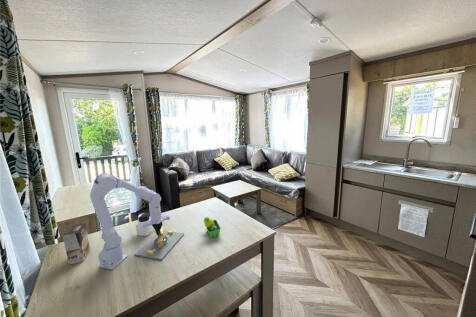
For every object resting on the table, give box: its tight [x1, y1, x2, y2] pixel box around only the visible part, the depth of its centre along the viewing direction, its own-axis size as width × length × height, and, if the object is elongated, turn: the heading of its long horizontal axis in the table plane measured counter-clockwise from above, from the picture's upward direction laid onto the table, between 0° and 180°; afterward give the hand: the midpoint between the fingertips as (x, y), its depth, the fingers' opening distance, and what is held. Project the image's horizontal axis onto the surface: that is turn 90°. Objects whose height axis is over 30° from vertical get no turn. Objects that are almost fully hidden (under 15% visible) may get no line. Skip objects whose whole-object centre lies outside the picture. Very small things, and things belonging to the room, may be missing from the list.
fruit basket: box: [203, 216, 221, 238], centre depth 115 cm, size 11×9×11 cm
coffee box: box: [62, 223, 91, 265], centre depth 96 cm, size 9×6×16 cm
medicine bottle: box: [135, 212, 155, 237], centre depth 117 cm, size 7×7×12 cm
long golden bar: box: [154, 227, 168, 247], centre depth 105 cm, size 7×13×4 cm, turn 20°
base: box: [134, 230, 185, 261], centre depth 106 cm, size 22×16×2 cm
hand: (158, 234), depth 110 cm, fingers closed, pressing on long golden bar
